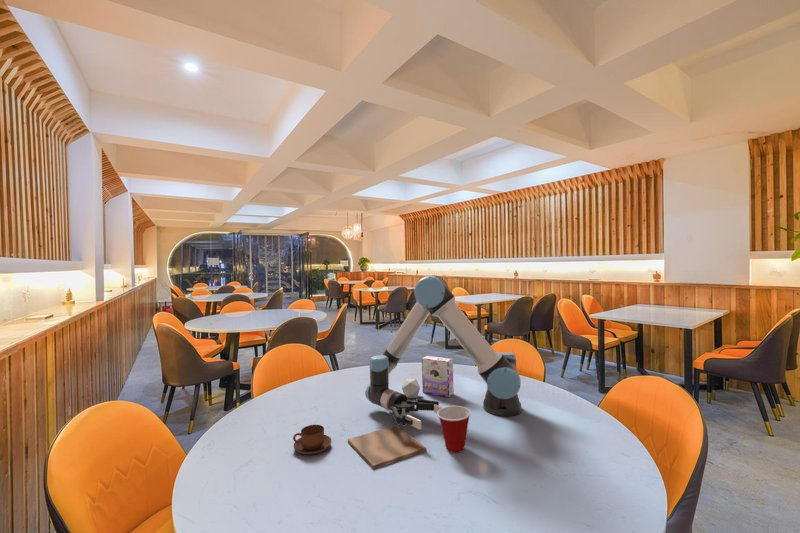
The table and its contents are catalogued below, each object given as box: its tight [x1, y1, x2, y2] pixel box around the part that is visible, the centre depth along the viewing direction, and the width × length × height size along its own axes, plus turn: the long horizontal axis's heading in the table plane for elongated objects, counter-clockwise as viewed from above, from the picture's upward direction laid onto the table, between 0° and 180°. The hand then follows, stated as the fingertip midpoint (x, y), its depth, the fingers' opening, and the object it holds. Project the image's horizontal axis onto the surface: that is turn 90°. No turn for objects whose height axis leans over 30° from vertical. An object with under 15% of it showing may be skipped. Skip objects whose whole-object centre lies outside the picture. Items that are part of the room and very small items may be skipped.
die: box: [401, 378, 421, 399], centre depth 160 cm, size 8×9×10 cm
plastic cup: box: [436, 405, 471, 454], centre depth 114 cm, size 11×11×12 cm
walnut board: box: [347, 425, 427, 470], centre depth 115 cm, size 19×19×1 cm
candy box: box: [421, 355, 455, 398], centre depth 164 cm, size 14×6×16 cm, turn 58°
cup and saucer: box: [292, 424, 332, 455], centre depth 115 cm, size 12×12×6 cm
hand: (434, 419), depth 120 cm, fingers open, 13 cm apart
